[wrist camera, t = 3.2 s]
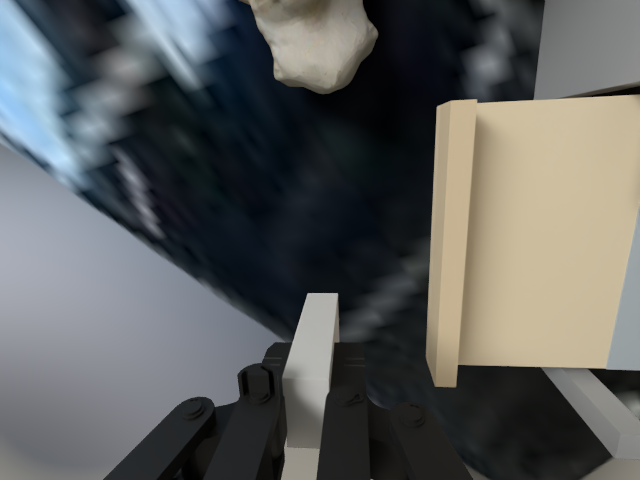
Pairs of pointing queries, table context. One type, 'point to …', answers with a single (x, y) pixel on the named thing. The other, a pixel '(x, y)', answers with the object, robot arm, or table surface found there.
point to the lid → (535, 235)
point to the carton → (575, 82)
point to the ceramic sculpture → (315, 40)
